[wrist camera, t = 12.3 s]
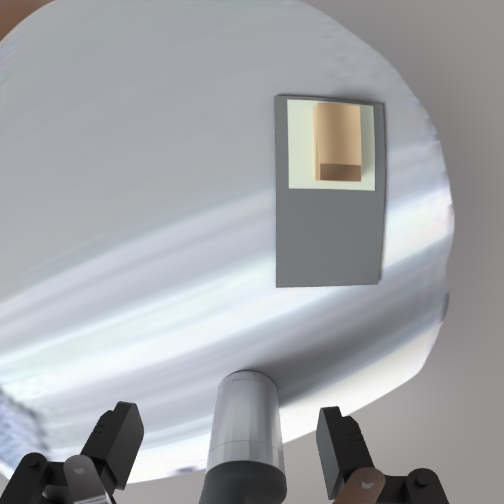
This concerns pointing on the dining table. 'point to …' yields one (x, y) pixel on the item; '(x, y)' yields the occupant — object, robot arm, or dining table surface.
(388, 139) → the dining table surface
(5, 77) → the dining table surface
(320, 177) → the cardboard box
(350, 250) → the mat
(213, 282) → the dining table surface
